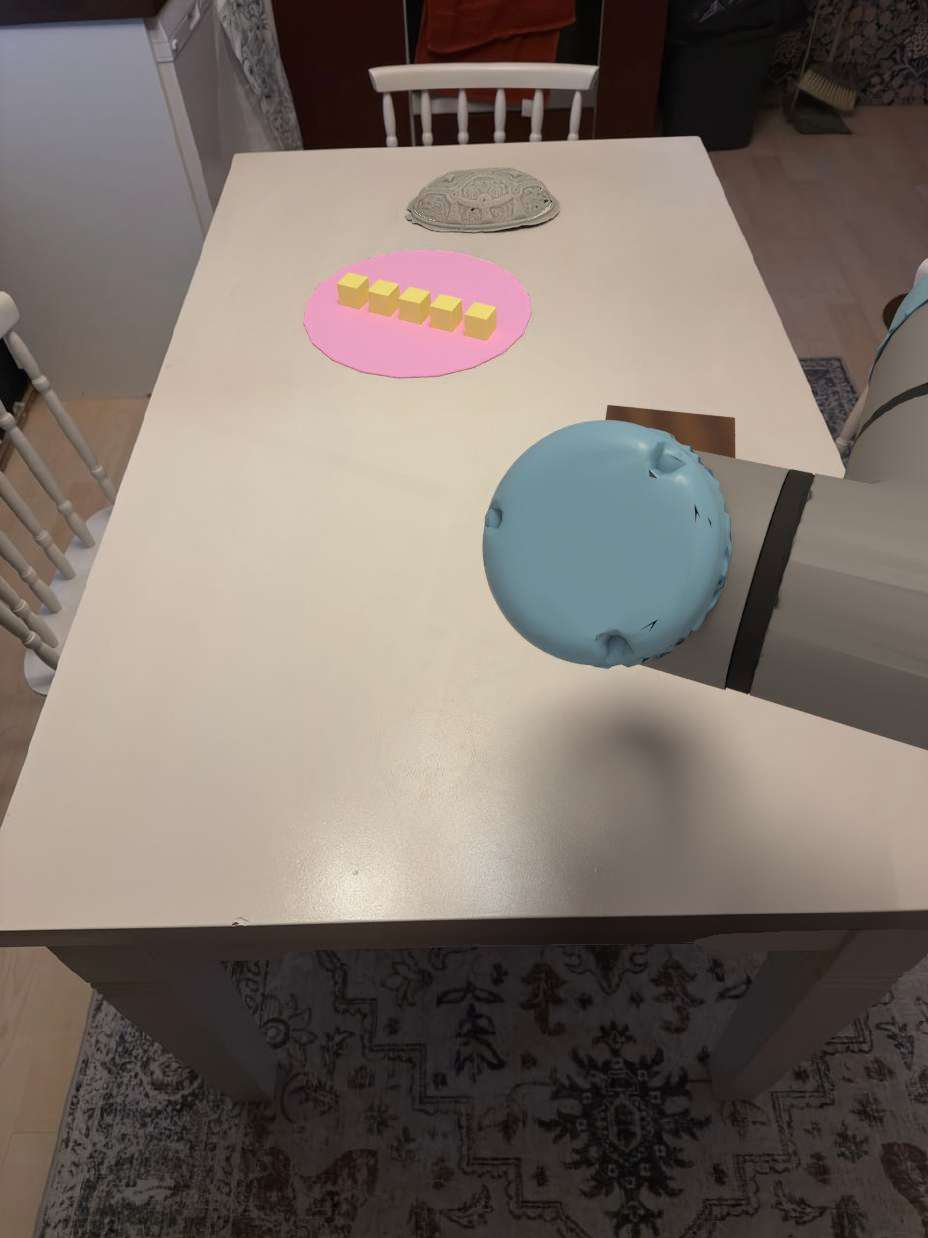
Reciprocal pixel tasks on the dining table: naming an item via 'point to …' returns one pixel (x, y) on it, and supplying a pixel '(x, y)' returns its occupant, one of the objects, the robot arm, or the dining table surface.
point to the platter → (417, 313)
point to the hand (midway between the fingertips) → (713, 563)
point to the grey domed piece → (468, 189)
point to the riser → (683, 427)
